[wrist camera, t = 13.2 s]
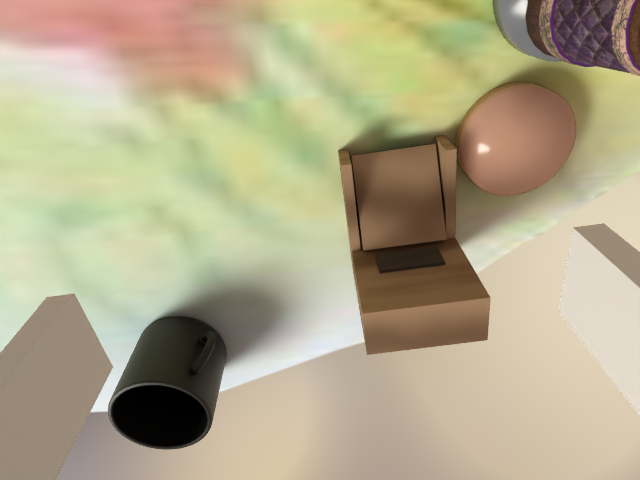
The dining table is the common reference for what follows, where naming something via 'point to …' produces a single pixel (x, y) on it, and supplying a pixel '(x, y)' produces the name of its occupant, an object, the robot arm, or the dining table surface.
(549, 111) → the pink disc
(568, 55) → the mug
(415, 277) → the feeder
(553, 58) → the stand slate
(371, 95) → the dining table surface
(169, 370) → the mug
